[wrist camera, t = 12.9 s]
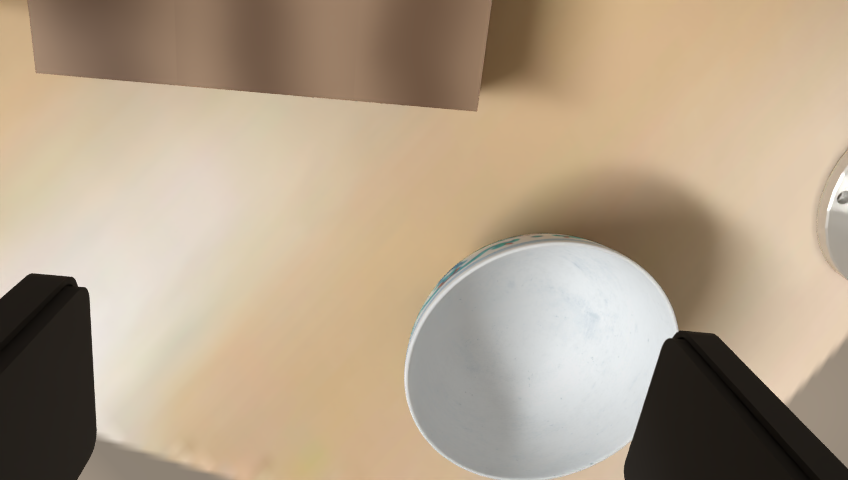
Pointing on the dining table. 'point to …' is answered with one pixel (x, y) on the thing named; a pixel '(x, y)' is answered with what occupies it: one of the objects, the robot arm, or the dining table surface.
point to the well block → (274, 46)
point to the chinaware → (536, 356)
